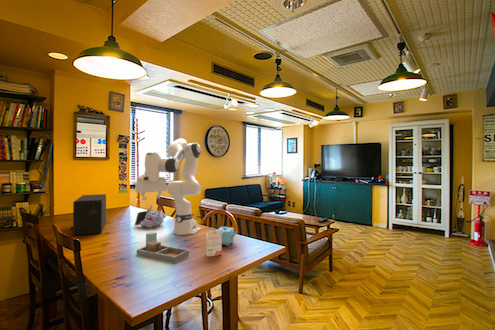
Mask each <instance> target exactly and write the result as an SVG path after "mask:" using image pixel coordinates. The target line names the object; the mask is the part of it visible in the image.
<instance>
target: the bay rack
mask: <svg viewBox="0 0 495 330" xmlns="http://www.w3.org/2000/svg"><path fill="white" fill-rule="evenodd" d="M136 256H139V257H144V258H149V259H152V260H153V259H154V260H159V261H163V262H164V261H165V262H168V263H173V264H174V265H176V264H178V263H180V262H181V261H183V260H185V259H187V258H189V257H190V250H189V249H186V248H180V247H175V246H169V245H162V244H161V251H158V252H156V253H155V252H150V251H146V245H145V246H143V247H140V248H137V249H136Z"/></svg>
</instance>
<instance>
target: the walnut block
mask: <svg viewBox="0 0 495 330" xmlns="http://www.w3.org/2000/svg"><path fill="white" fill-rule="evenodd" d="M161 245H162V242H161V241H157V242H155V241H152V242H149V243H147V244H146V243H145V246H146V251H150V252H155V253H156V252H158V251H161Z"/></svg>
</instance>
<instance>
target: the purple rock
mask: <svg viewBox="0 0 495 330" xmlns="http://www.w3.org/2000/svg"><path fill="white" fill-rule="evenodd" d="M152 208H153V205H150V206H149V207H148V208H147V209H146V210H145V211H140V212H137V215H136V218H135V222H134V227H136V226H141V227H147V228H149V229H150V228H153V227H156V228H157V227H158V226H160V225H161V224H163V222H164V219H165V218H167V214H165V213H164V212H162V211H159V210H154V211H153V210H152Z"/></svg>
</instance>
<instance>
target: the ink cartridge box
mask: <svg viewBox="0 0 495 330" xmlns="http://www.w3.org/2000/svg"><path fill="white" fill-rule="evenodd" d="M214 232H217V233H216V234H214ZM222 245H223V244H222V235H221V230H218V229H216V230H207V231H206V234H205V250H206V251H205V255H206V257H209V256H210V257H218V255H221V256H222V254H223V253H222V247H223V246H222Z"/></svg>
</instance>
